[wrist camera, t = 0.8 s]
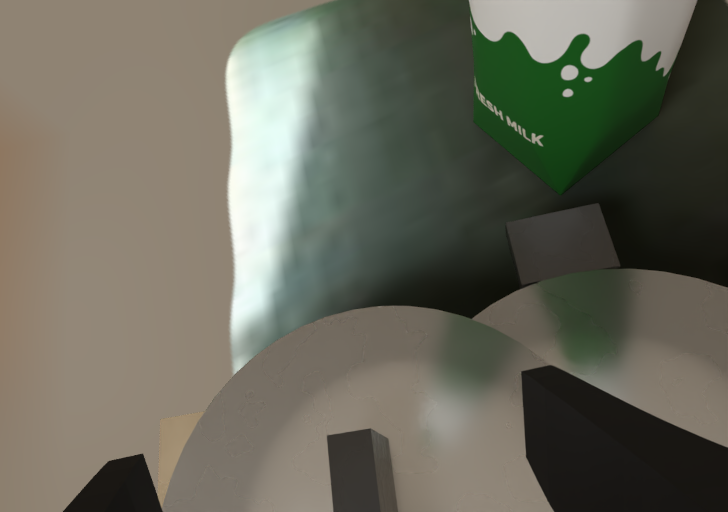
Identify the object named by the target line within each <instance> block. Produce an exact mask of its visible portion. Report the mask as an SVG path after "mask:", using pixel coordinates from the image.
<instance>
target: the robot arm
mask: <svg viewBox="0 0 728 512" xmlns="http://www.w3.org/2000/svg"><path fill="white" fill-rule="evenodd" d="M521 379H522V396H523V414H524V431H525V448H526V458H527V460H528V462H529V464H530V466H531V469H532V471H533V473H534V475H535V477H536V479H537V481H538V483H539V485H540V487H541V489H542V491H543V493H544V495H545V497H546V499H547V501H548V502H549V504H550V506H551V508H552V509H553V511H554V512H728V447H725V446H723V445H720V444H718V443H715V442H713V441H710V440H708V439H706V438H703V437H701V436H699V435H696V434H694V433H692V432H689V431H687V430H685V429H682V428H680V427H678V426H675V425H673V424H671V423H669V422H667V421H664V420H662V419H660V418H658V417H656V416H654V415H652V414H649V413H647V412H645V411H643V410H641V409H639V408H637V407H635V406H633V405H631V404H629V403H627V402H625V401H623V400H621V399H619V398H617V397H615V396H613V395H611V394H609V393H607V392H605V391H603V390H601V389H599V388H597V387H595V386H593V385H591V384H589V383H587V382H586V381H584V380H582V379H580V378H578V377H576V376H574V375H572V374H570V373H568V372H566V371H564V370H562V369H559V368H557V367H555V366H553V365H548V366H543V367H538V368H534V369H529V370H525V371H521ZM63 512H163V511H162V508H161V505H160V502H159V499H158V496H157V493H156V490H155V487H154V485H153V481H152V479H151V476H150V473H149V470H148V467H147V464H146V462H145V458H144V455H143V454H139V455H134V456H130V457H125V458H121V459H116V460H112V461H109V462H107V463H106V464H105V465H104V466H103V467H102V469H101V470H100V471H99V472H98V473H97V474H96V475H95V476H94V477H93V478H92V479H91V480H90V482H89V483H88V484H87V485H86V486H85V487H84V489H82V491H81V492H80V493H79V494H78V495H77V496H76V497H75V499H74V500H73V501H72V502H71V503H70V504H69V505H68V506H67V508H66V509H65V510H64V511H63Z"/></svg>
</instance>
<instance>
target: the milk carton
mask: <svg viewBox="0 0 728 512" xmlns="http://www.w3.org/2000/svg"><path fill="white" fill-rule="evenodd" d="M696 3H697V0H469V8H470V20H471V32H472V44H473V55H474V120H473V122H474V123H475V124H476V125H478V126H479V127H480V128H481V129H482V130H484V131H485V132H486V133H487V134H488V135H490V136H491V137H492V138H493V139H494V140H495V141H497V142H498V143H499V144H500V145H501V146H503V147H504V148H505V149H506V150H507V151H508V152H510V153H511V154H512V155H513V156H514V157H516V158H517V159H518V160H519V161H520V162H521V163H523V164H524V165H525V166H526V167H527V168H529V169H530V170H531V171H532V172H533V173H534V174H536V175H537V176H538V177H539V178H540V179H542V180H543V181H544V182H545V183H546V184H547V185H549V186H550V187H551V188H552V189H553V190H555V191H556V192H557V193H558V194H559V195H562V194H563V193H564V192H565V191H567V190H568V189H569V188H570V187H571V186H573V185H574V184H575V183H576V182H578V181H579V180H580V179H581V178H582V177H584V176H585V175H586V174H587V173H589V172H590V171H591V170H592V169H593V168H595V167H596V166H597V165H598V164H600V163H601V162H602V161H603V160H604V159H606V158H607V157H608V156H609V155H611V154H612V153H613V152H614V151H615V150H617V149H618V148H619V147H620V146H622V145H623V144H624V143H625V142H626V141H628V140H629V139H630V138H631V137H633V136H634V135H635V134H636V133H638V132H639V131H640V130H641V129H642V128H644V127H645V126H646V125H647V124H649V123H650V122H651V121H652V120H653V119H655V118H656V117H657V116H658V115H659V111H660V108H661V104H662V100H663V97H664V93H665V90H666V86H667V82H668V79H669V76H670V73H671V71H672V68H673V66H674V63H675V60H676V58H677V55H678V52H679V49H680V47H681V44H682V41H683V38H684V36H685V33H686V30H687V27H688V25H689V22H690V19H691V16H692V14H693V11H694V8H695V5H696Z"/></svg>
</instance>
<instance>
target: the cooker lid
mask: <svg viewBox="0 0 728 512" xmlns="http://www.w3.org/2000/svg"><path fill="white" fill-rule="evenodd" d="M548 365H549V364H548V363H547V362H546V361H545V360H544V359H542V358H541V357H539V356H538V355H537V354H535V353H534V352H532V351H531V350H530V349H528V348H527V347H525V346H524V345H523V344H521V343H520V342H518V341H516V340H514V339H513V338H511V337H509V336H507V335H505V334H503V333H502V332H500V331H498V330H496V329H494V328H492V327H490V326H487V325H485V324H482V323H480V322H477V321H475V320H472V319H470V318H467V317H464V316H461V315H457V314H453V313H449V312H445V311H441V310H437V309H430V308H422V307H413V306H377V307H369V308H362V309H354V310H350V311H346V312H342V313H339V314H335V315H331V316H327V317H325V318H322V319H320V320H317V321H315V322H312V323H310V324H307V325H305V326H302V327H300V328H298V329H297V330H295V331H293V332H291V333H289V334H288V335H286V336H284V337H282V338H280V339H278V340H277V341H275V342H274V343H273V344H271V345H270V346H269V347H267V348H266V349H264V350H263V351H262V352H260V353H259V354H257V355H256V356H255V357H254V358H252V359H251V360H250V361H249V362H248V363H247V364H246V365H245V366H244V367H243V368H241V369H240V370H239V371H238V372H237V373H236V374H235V375H234V376H233V377H232V378H231V379H230V381H229V382H228V383H227V384H226V385H225V386H224V387H223V388H222V390H221V391H220V392H219V393H218V394H217V395H216V396H215V398H214V399H213V401H212V402H211V403H210V405H209V406H208V408H207V409H206V411H205V412H204V413H203V415H202V416H201V418H200V419H199V421H198V422H197V424H196V426H195V428H194V430H193V431H192V433H191V435H190V437H189V439H188V440H187V442H186V444H185V446H184V448H183V450H182V453H181V455H180V457H179V460H178V462H177V464H176V467H175V469H174V472H173V474H172V476H171V480H170V483H169V486H168V489H167V493H166V496H165V499H164V503H163V506H162V511H163V512H554V511H553V509H552V508H551V506H550V504H549V502H548V501H547V499H546V497H545V495H544V493H543V491H542V489H541V487H540V485H539V483H538V481H537V479H536V477H535V475H534V473H533V471H532V469H531V466H530V464H529V462H528V460H527V458H526V448H525V431H524V414H523V396H522V379H521V371H525V370H529V369H534V368H538V367H543V366H548Z"/></svg>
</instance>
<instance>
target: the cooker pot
mask: <svg viewBox="0 0 728 512" xmlns="http://www.w3.org/2000/svg"><path fill="white" fill-rule="evenodd" d="M506 237H507V241H508V245H509V249H510V252H511V256H512V260H513V264H514V268H515V272H516V276H517V280H518V283H519V287H520V290H518V291H515V292H513V293H512V294H510V295H508V296H506V297H504V298H502V299H501V300H499V301H497V302H495V303H493V304H491V305H490V306H489V307H487V308H486V309H484V310H483V311H482V312H480V313H479V314H478V315H476V316H475V317H473V318H472V320H475V321H477V322H480V323H482V324H485V325H487V326H490V327H492V328H494V329H496V330H498V331H500V332H502V333H503V334H505V335H507V336H509V337H511V338H513V339H514V340H516V341H518V342H520V343H521V344H523V345H524V346H525V347H527V348H528V349H530V350H531V351H532V352H534V353H535V354H537V355H538V356H539V357H541V358H542V359H544V360H545V361H546V362H547V363H548V364H549V365H553V366H555V367H557V368H559V369H562V370H564V371H566V372H568V373H570V374H572V375H574V376H576V377H578V378H580V379H582V380H584V381H586V382H587V383H589V384H591V385H593V386H595V387H597V388H599V389H601V390H603V391H605V392H607V393H609V394H611V395H613V396H615V397H617V398H619V399H621V400H623V401H625V402H627V403H629V404H631V405H633V406H635V407H637V408H639V409H641V410H643V411H645V412H647V413H649V414H652V415H654V416H656V417H658V418H660V419H662V420H664V421H667V422H669V423H671V424H673V425H675V426H678V427H680V428H682V429H685V430H687V431H689V432H692V433H694V434H696V435H699V436H701V437H703V438H706V439H708V440H710V441H713V442H715V443H718V444H720V445H723V446H725V447H728V288H727V287H724V286H720V285H717V284H714V283H711V282H708V281H704V280H701V279H698V278H693V277H688V276H683V275H678V274H673V273H669V272H663V271H652V270H641V269H619V267H620V263H619V260H618V257H617V254H616V251H615V249H614V246H613V243H612V240H611V237H610V234H609V231H608V228H607V226H606V223H605V220H604V217H603V214H602V211H601V208H600V205H599V203H596V204H591V205H586V206H581V207H577V208H572V209H567V210H563V211H558V212H553V213H549V214H544V215H539V216H535V217H530V218H525V219H521V220H516V221H511V222H507V223H506ZM204 412H205V411H204ZM204 412H199V413H193V414H187V415H181V416H175V417H170V418H164V419H161V420H160V447H159V476H158V499H159V502H160V505H161V508H162V506H163V503H164V499H165V496H166V493H167V489H168V486H169V483H170V480H171V476H172V474H173V472H174V469H175V467H176V464H177V462H178V460H179V457H180V455H181V453H182V450H183V448H184V446H185V444H186V442H187V440H188V439H189V437H190V435H191V433H192V431H193V430H194V428H195V426H196V424H197V422H198V421H199V419H200V418H201V416H202V415H203V413H204Z"/></svg>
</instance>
